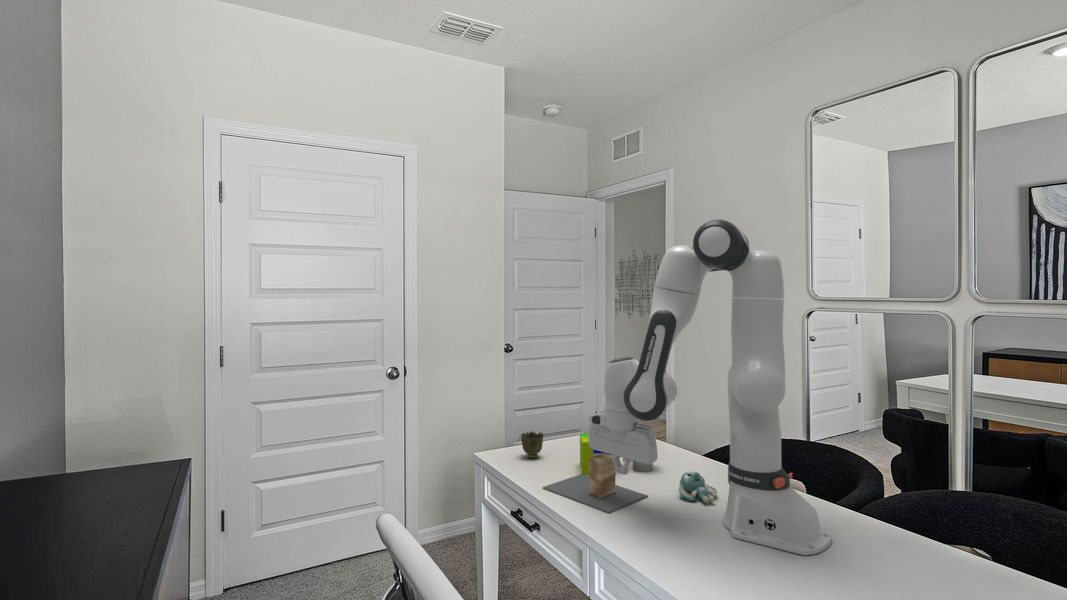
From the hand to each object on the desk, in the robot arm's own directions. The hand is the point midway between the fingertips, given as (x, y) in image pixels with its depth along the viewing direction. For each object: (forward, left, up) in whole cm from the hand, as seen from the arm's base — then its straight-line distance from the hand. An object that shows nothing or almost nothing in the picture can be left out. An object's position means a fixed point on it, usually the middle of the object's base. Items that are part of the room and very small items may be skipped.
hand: (621, 473), depth 141 cm
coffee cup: (+13, -26, -8) cm, 30 cm away
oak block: (+7, 0, -7) cm, 10 cm away
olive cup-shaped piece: (+45, -9, -8) cm, 46 cm away
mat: (+10, 0, -8) cm, 12 cm away
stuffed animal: (-12, -17, -8) cm, 22 cm away
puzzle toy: (+22, -15, -8) cm, 28 cm away
